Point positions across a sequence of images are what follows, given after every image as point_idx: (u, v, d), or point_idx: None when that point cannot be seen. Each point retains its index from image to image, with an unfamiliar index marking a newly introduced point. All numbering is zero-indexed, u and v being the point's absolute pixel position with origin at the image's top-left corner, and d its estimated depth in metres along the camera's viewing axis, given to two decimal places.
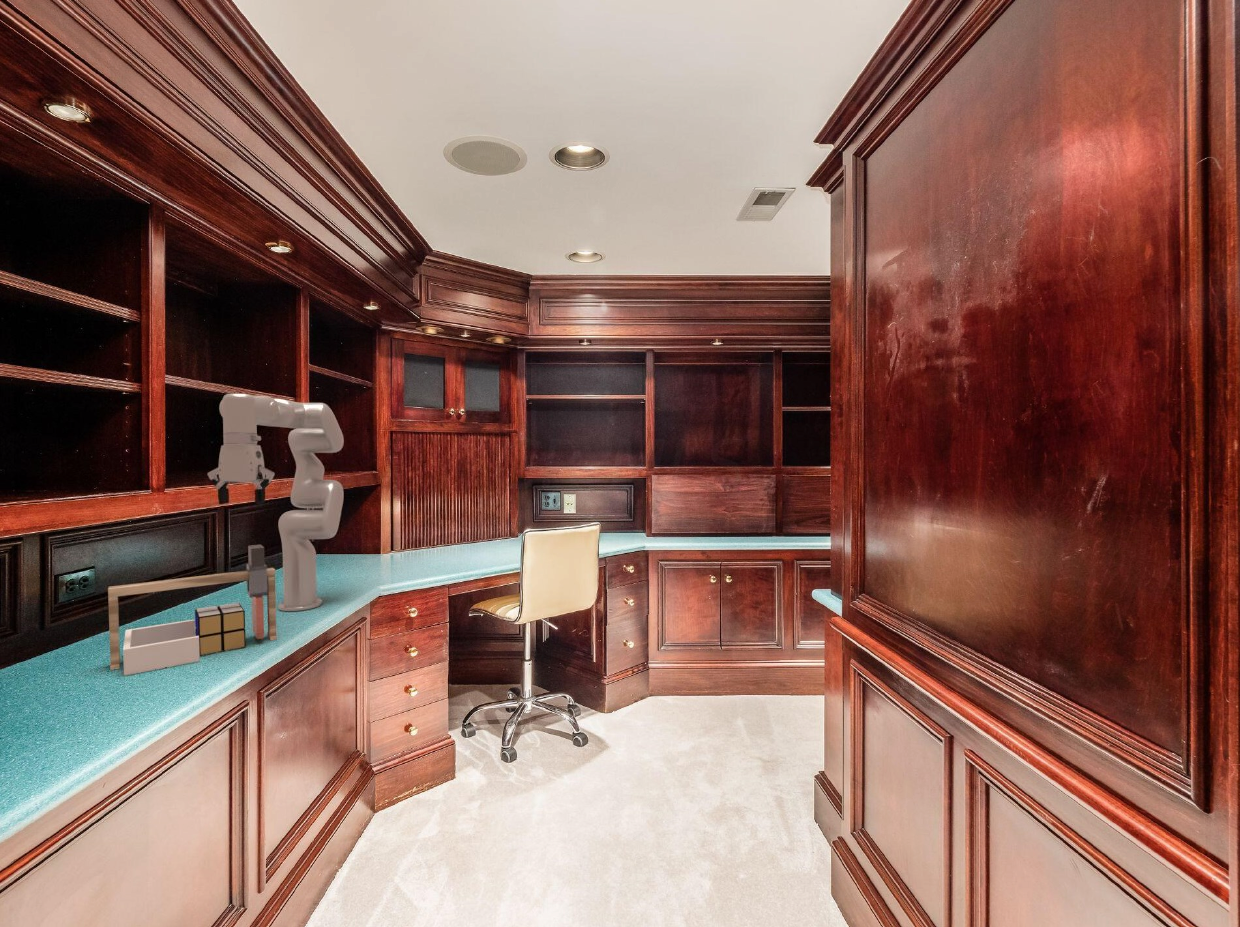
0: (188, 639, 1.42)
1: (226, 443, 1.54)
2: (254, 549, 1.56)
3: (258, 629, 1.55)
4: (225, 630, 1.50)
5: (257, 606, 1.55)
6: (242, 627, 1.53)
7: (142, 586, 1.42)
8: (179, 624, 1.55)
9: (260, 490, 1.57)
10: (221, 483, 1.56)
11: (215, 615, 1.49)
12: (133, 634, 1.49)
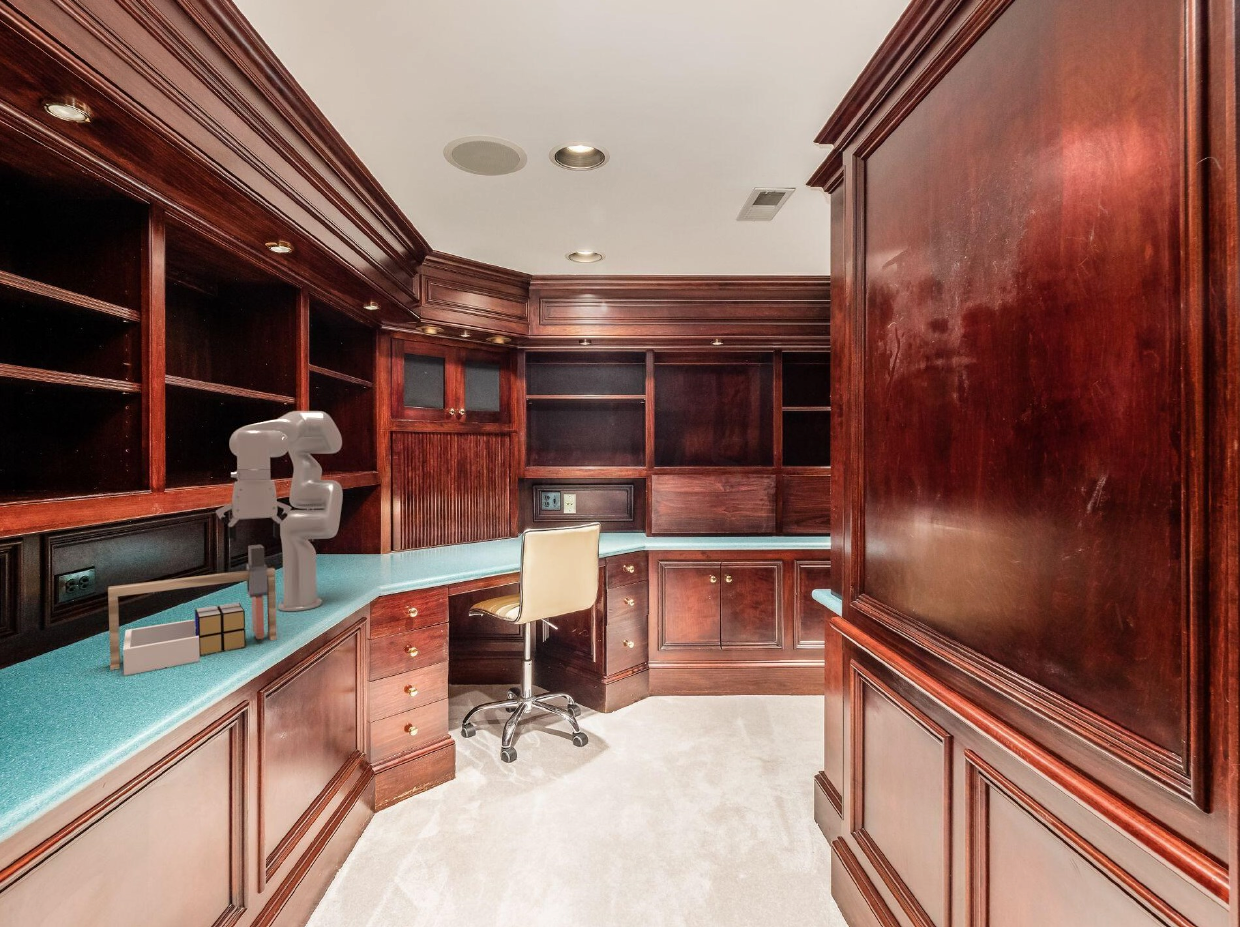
0: (188, 639, 1.42)
1: None
2: (254, 549, 1.56)
3: (258, 629, 1.55)
4: (225, 630, 1.50)
5: (257, 606, 1.55)
6: (242, 627, 1.53)
7: (142, 586, 1.42)
8: (179, 624, 1.55)
9: None
10: None
11: (215, 615, 1.49)
12: (133, 634, 1.49)
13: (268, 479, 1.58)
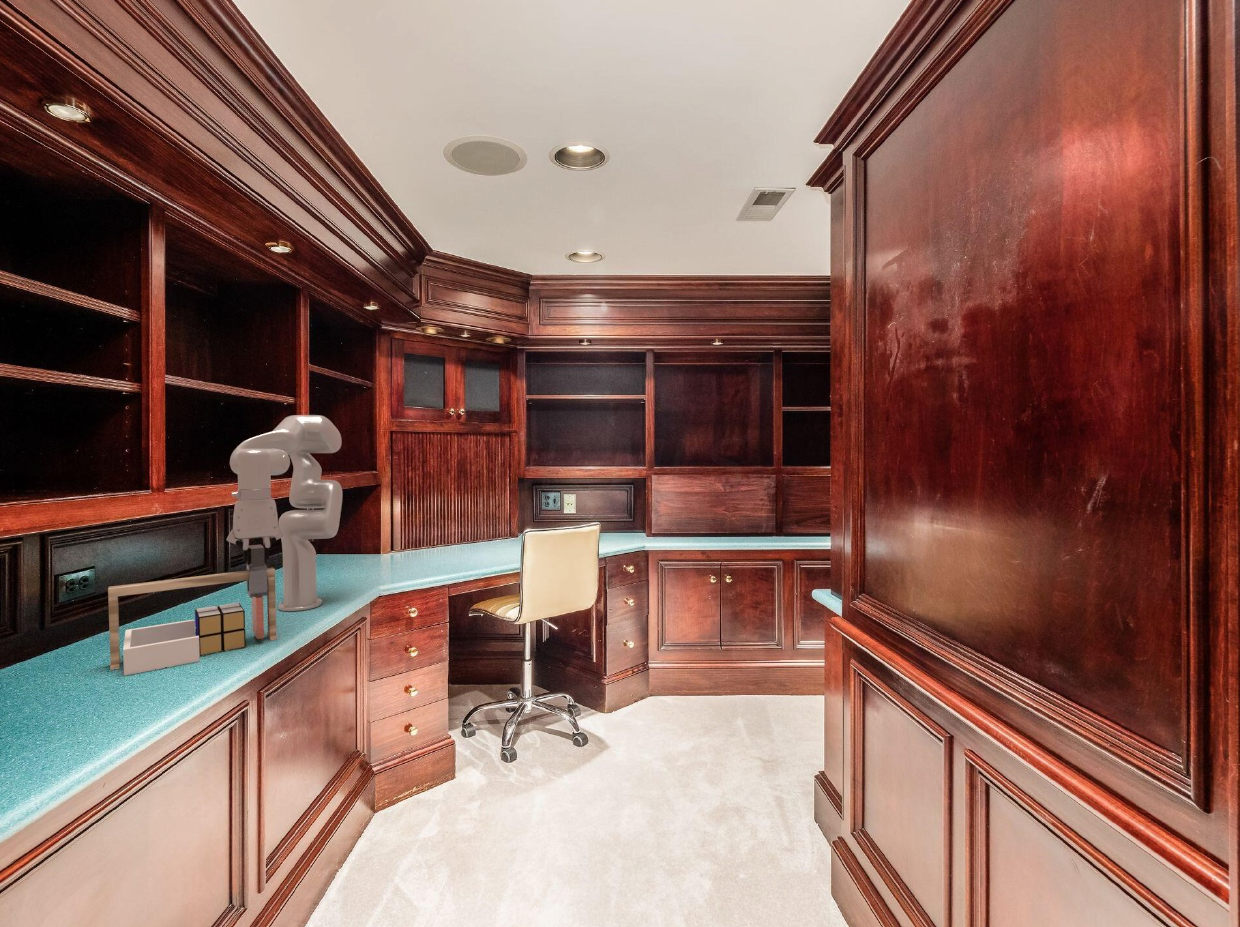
0: (188, 639, 1.42)
1: None
2: (254, 549, 1.56)
3: (258, 629, 1.55)
4: (225, 630, 1.50)
5: (257, 606, 1.55)
6: (242, 627, 1.53)
7: (142, 586, 1.42)
8: (179, 624, 1.55)
9: None
10: None
11: (215, 615, 1.49)
12: (133, 634, 1.49)
13: (269, 498, 1.58)
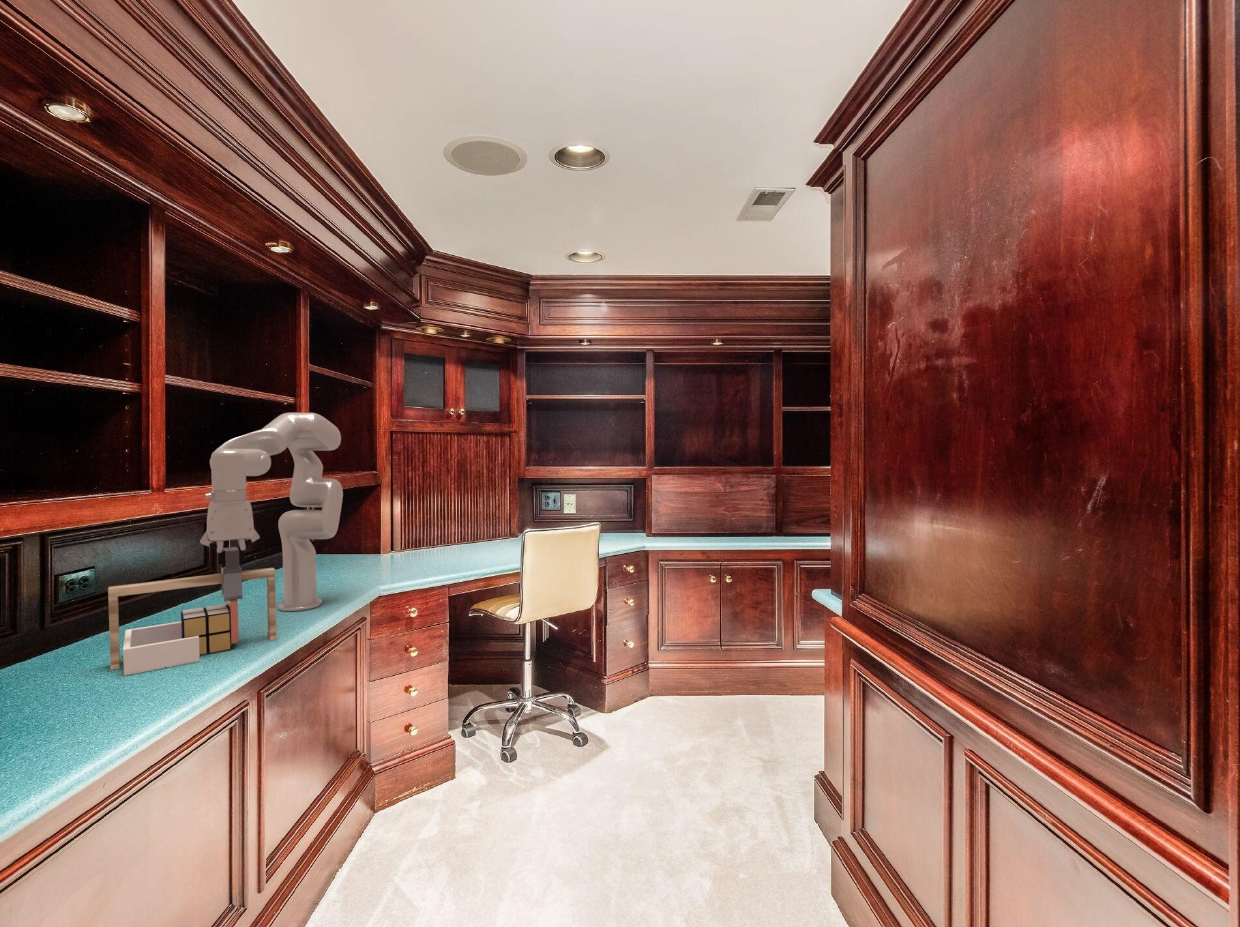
0: (188, 639, 1.42)
1: None
2: (228, 552, 1.52)
3: (232, 633, 1.52)
4: (210, 632, 1.48)
5: (231, 610, 1.51)
6: (228, 629, 1.51)
7: (142, 586, 1.42)
8: (179, 624, 1.55)
9: None
10: None
11: (200, 617, 1.47)
12: (133, 634, 1.49)
13: (244, 500, 1.55)
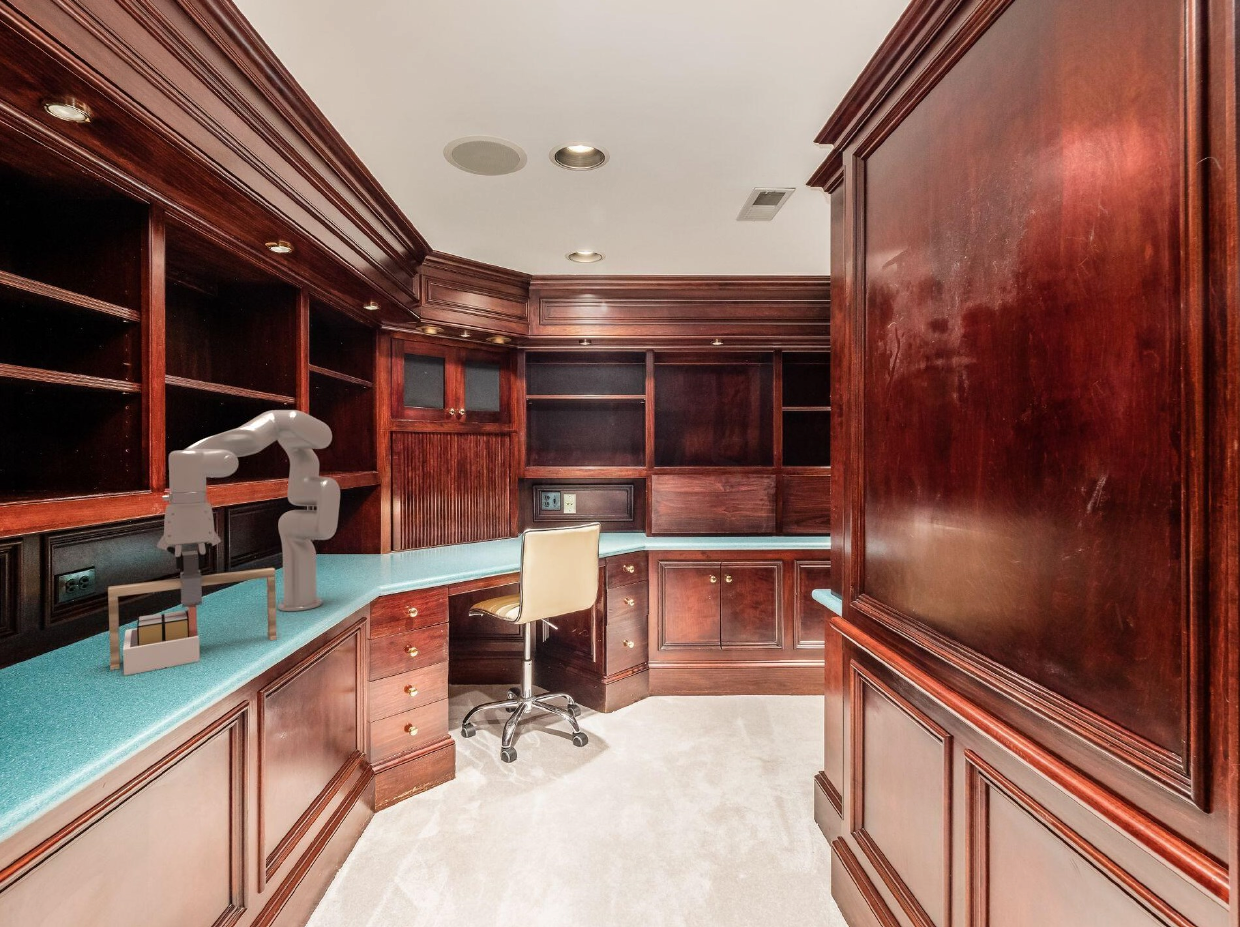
0: (188, 639, 1.42)
1: None
2: (187, 556, 1.47)
3: None
4: (167, 640, 1.43)
5: (190, 616, 1.46)
6: (186, 636, 1.45)
7: (142, 586, 1.42)
8: None
9: None
10: None
11: (156, 624, 1.42)
12: (133, 634, 1.49)
13: (203, 502, 1.49)
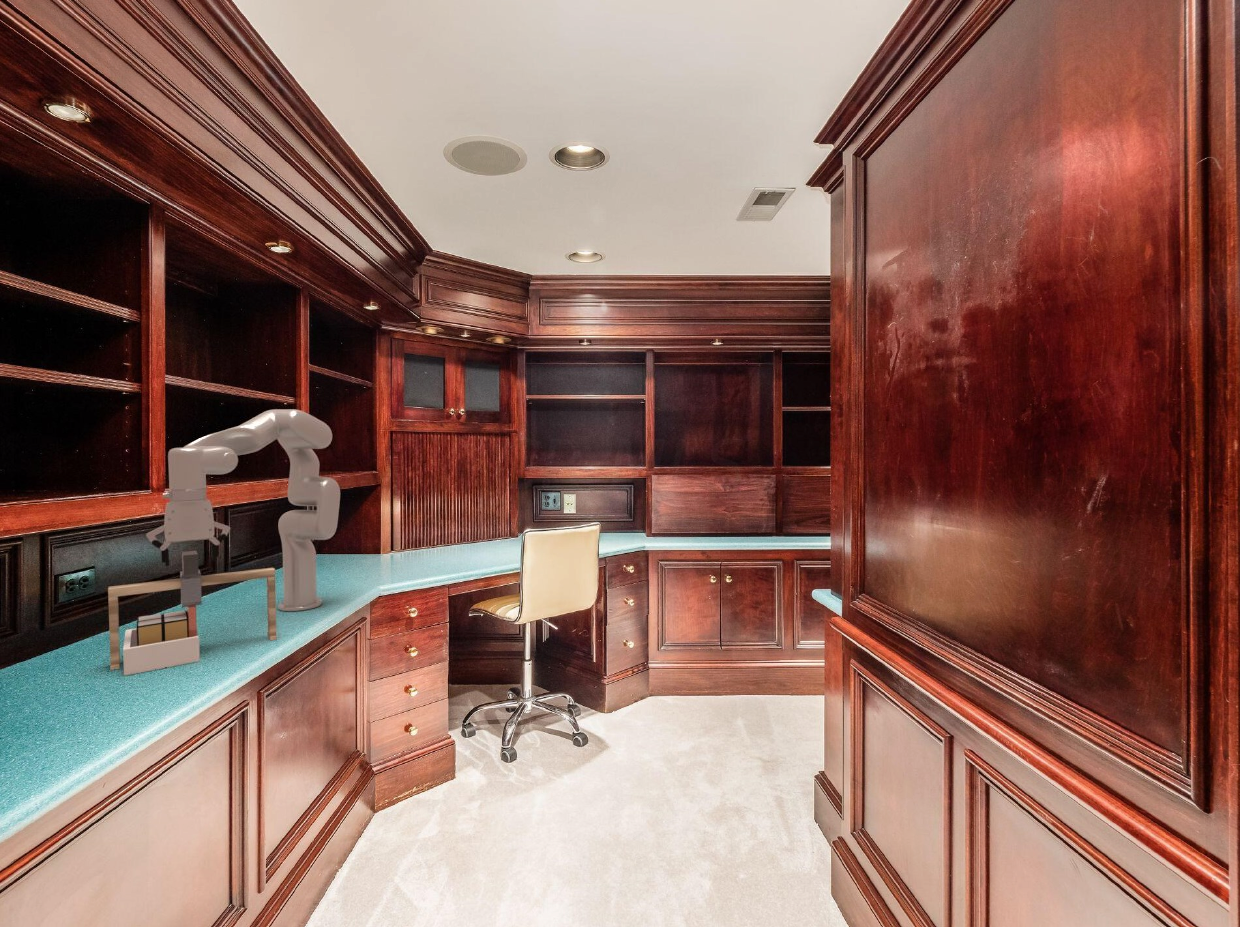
0: (188, 639, 1.42)
1: None
2: (186, 556, 1.46)
3: None
4: (167, 640, 1.43)
5: (189, 616, 1.46)
6: (185, 636, 1.45)
7: (142, 586, 1.42)
8: None
9: None
10: None
11: (155, 624, 1.42)
12: (133, 634, 1.49)
13: (203, 499, 1.49)
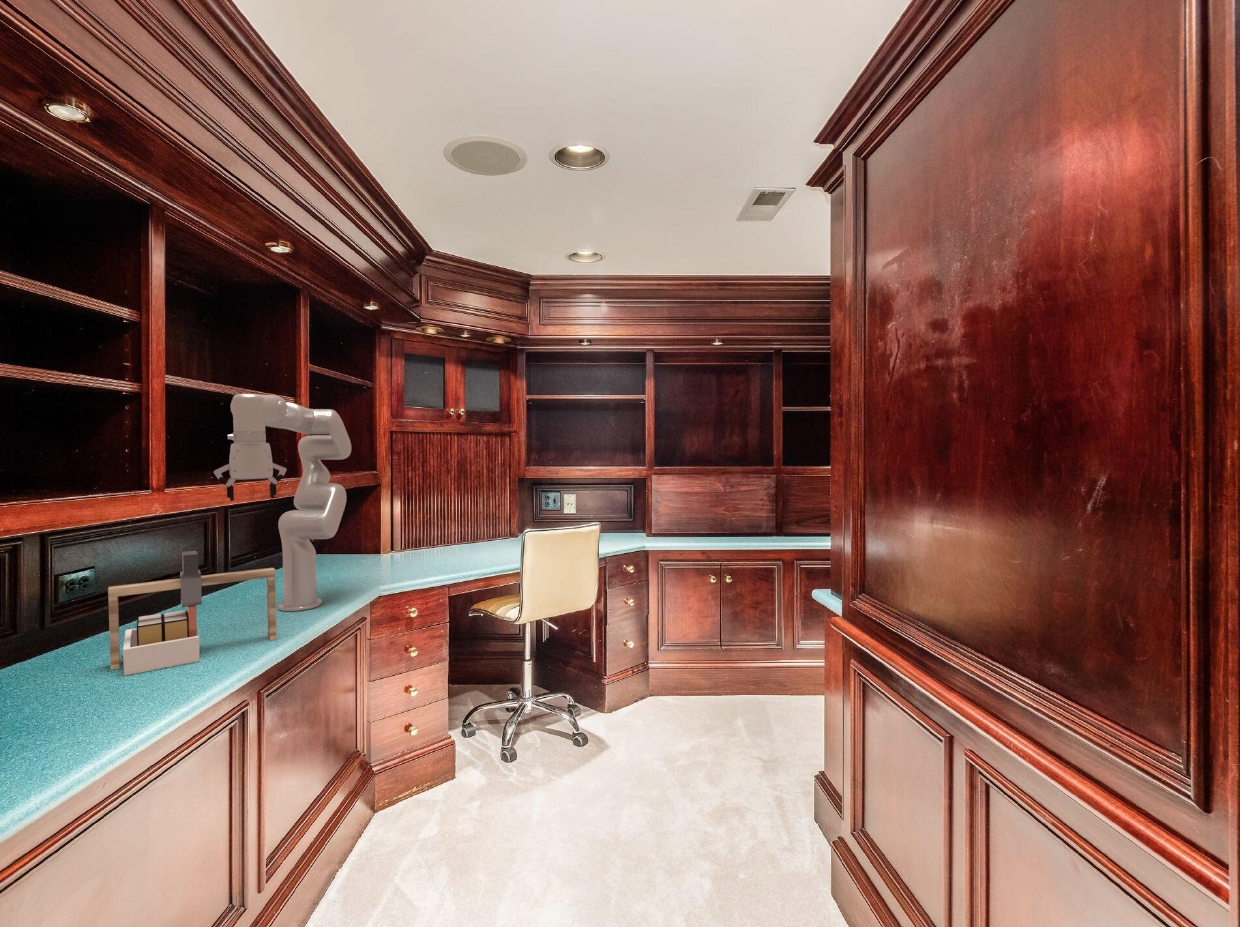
0: (188, 639, 1.42)
1: None
2: (186, 556, 1.47)
3: None
4: (167, 640, 1.43)
5: (189, 616, 1.46)
6: (185, 636, 1.45)
7: (142, 586, 1.42)
8: None
9: None
10: None
11: (155, 624, 1.42)
12: (133, 634, 1.49)
13: (263, 441, 1.64)
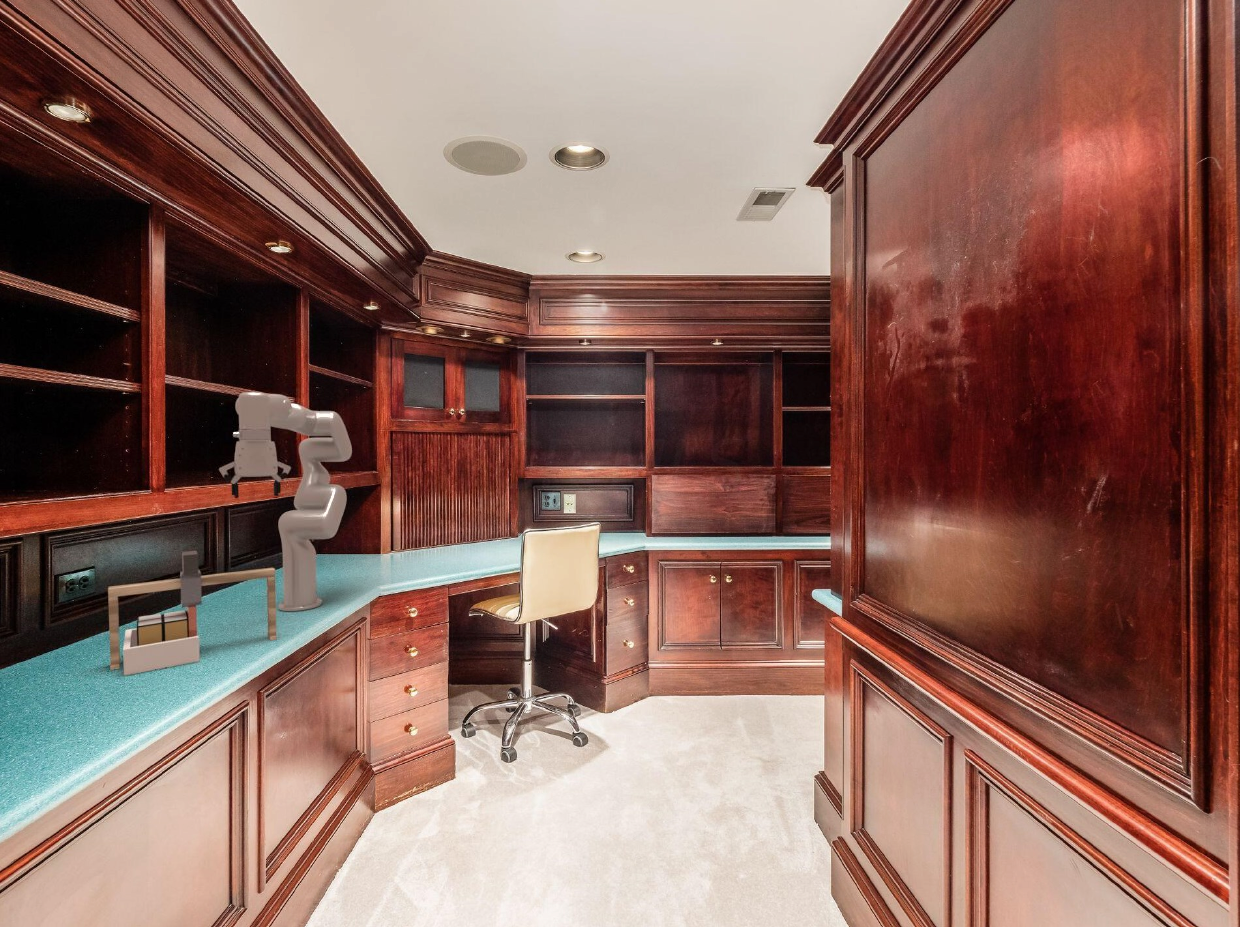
0: (188, 639, 1.42)
1: None
2: (186, 556, 1.47)
3: None
4: (167, 640, 1.43)
5: (189, 616, 1.46)
6: (185, 636, 1.45)
7: (142, 586, 1.42)
8: None
9: None
10: None
11: (155, 624, 1.42)
12: (133, 634, 1.49)
13: (268, 439, 1.65)
